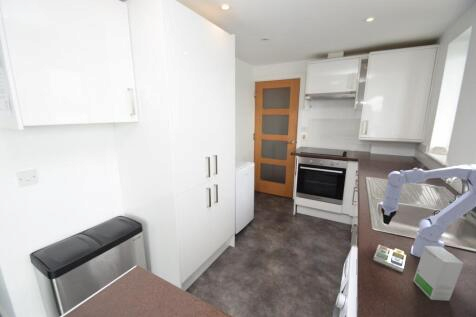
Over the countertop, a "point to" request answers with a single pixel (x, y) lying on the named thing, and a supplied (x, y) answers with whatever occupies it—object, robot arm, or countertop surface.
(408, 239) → the countertop surface
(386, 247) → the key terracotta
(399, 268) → the keypad board
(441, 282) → the skincare box
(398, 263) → the key slate
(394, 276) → the countertop surface
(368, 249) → the countertop surface
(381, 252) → the key sage
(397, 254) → the key mustard
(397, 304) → the countertop surface
